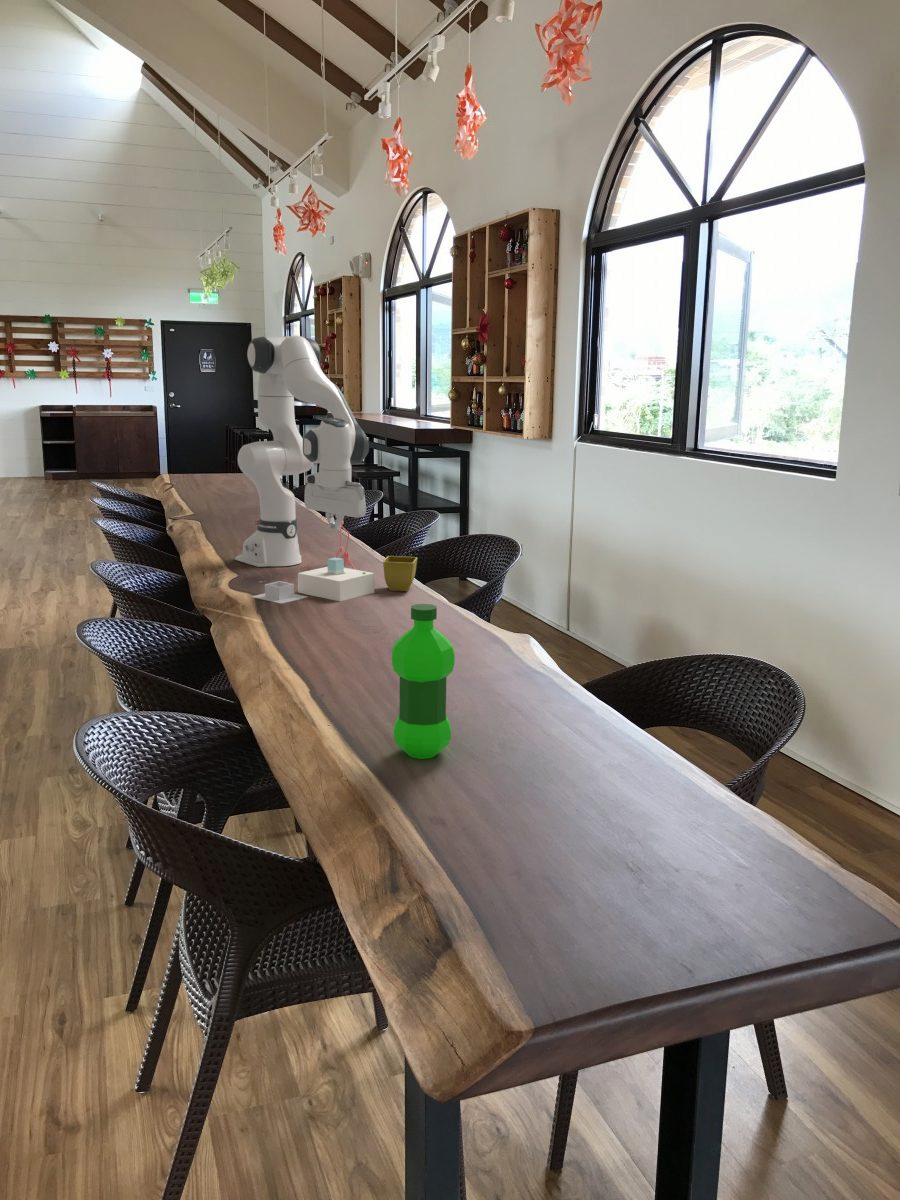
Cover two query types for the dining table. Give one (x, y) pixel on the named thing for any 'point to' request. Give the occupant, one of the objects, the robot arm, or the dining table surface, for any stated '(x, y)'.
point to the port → (336, 584)
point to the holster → (279, 593)
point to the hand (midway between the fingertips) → (334, 529)
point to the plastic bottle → (422, 685)
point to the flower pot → (399, 572)
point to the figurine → (346, 554)
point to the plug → (335, 566)
